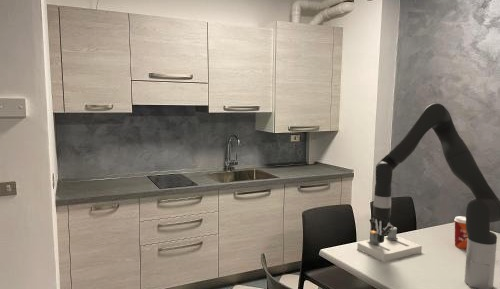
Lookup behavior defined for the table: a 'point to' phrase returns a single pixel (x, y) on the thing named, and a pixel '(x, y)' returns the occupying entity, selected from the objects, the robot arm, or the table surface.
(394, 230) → the on lever
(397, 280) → the table surface
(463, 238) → the paper cup
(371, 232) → the orange and grey block
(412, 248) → the switch box
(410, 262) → the table surface
